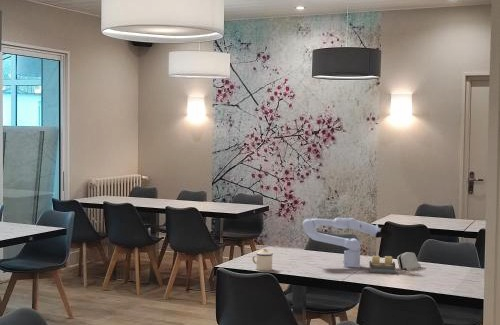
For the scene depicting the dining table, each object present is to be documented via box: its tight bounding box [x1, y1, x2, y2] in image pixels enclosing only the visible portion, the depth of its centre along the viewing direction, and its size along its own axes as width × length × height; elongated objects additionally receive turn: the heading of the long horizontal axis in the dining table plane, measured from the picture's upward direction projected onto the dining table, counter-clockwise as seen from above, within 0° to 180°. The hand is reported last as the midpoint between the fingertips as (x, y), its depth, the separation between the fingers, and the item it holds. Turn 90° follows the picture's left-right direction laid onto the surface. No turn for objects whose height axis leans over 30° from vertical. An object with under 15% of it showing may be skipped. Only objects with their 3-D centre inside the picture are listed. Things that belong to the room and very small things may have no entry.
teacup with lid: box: [251, 247, 273, 272], centre depth 371 cm, size 12×9×12 cm
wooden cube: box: [371, 255, 381, 264], centre depth 383 cm, size 4×4×4 cm
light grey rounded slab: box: [396, 251, 422, 271], centre depth 384 cm, size 17×5×10 cm, turn 138°
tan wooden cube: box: [384, 255, 393, 265], centre depth 382 cm, size 4×4×4 cm
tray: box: [369, 266, 397, 275], centre depth 371 cm, size 14×10×2 cm
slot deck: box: [368, 260, 396, 269], centre depth 381 cm, size 14×9×3 cm, turn 81°
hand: (390, 235), depth 384 cm, fingers open, 7 cm apart
